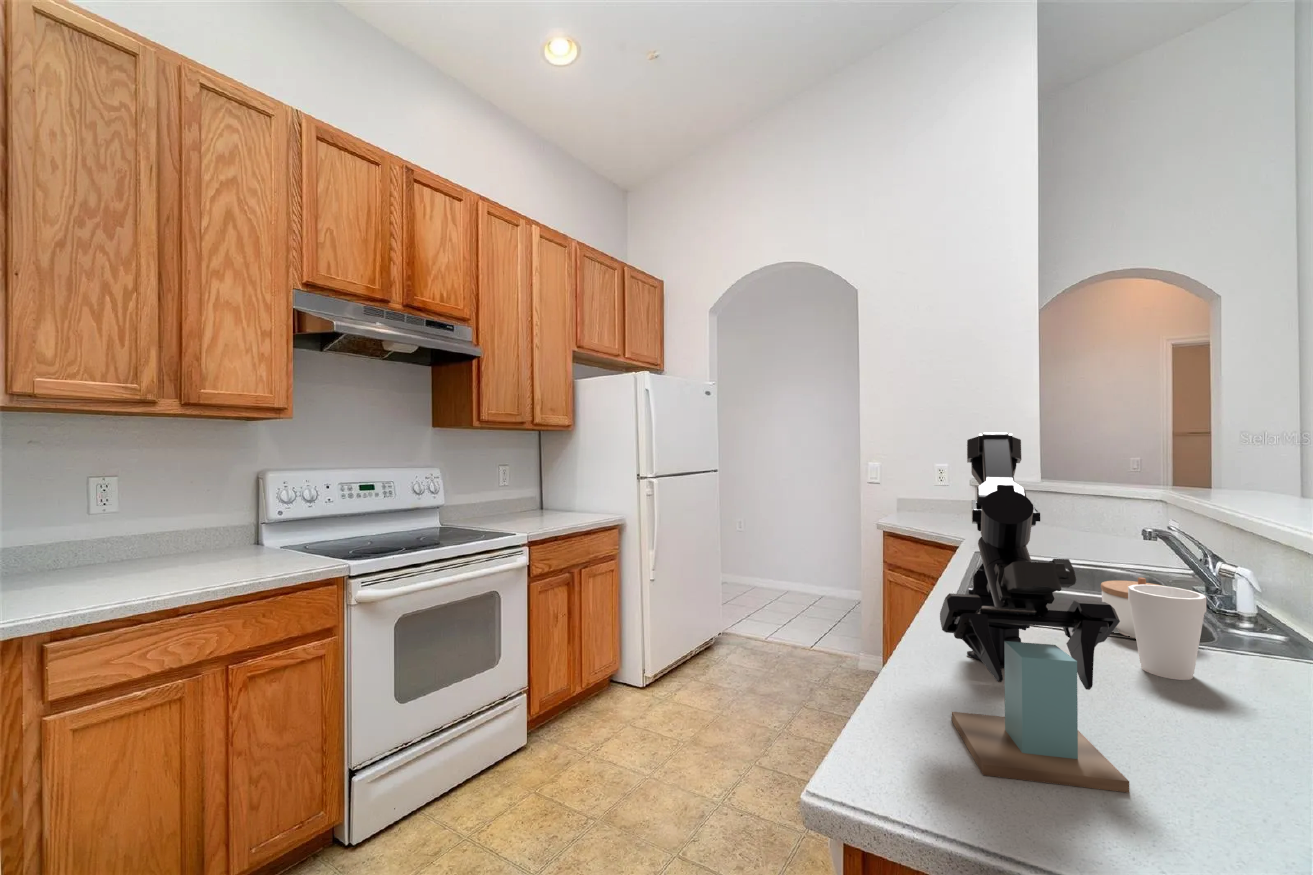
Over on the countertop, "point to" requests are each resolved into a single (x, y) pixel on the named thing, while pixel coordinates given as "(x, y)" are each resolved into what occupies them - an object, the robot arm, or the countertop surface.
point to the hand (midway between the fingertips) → (1044, 684)
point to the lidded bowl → (1121, 603)
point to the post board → (1033, 757)
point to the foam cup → (1167, 628)
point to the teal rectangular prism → (1041, 699)
